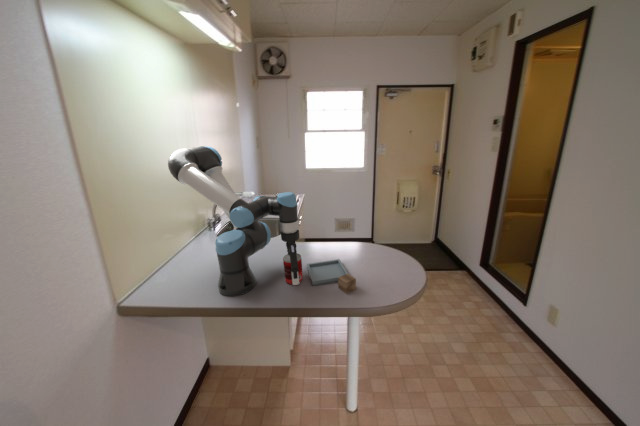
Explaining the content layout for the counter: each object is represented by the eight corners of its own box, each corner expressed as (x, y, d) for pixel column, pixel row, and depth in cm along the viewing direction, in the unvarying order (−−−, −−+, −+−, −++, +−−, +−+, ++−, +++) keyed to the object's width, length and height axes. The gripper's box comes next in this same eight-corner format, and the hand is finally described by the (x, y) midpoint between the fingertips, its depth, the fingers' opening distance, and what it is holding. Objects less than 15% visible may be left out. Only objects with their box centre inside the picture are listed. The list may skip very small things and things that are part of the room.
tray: (312, 285, 114) (312, 281, 114) (306, 267, 129) (306, 263, 129) (349, 279, 117) (349, 275, 117) (339, 262, 132) (339, 259, 132)
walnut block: (346, 294, 108) (345, 282, 106) (338, 288, 112) (338, 277, 111) (355, 289, 110) (355, 278, 109) (348, 284, 114) (348, 273, 113)
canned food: (304, 275, 123) (302, 252, 120) (301, 285, 116) (299, 261, 112) (287, 275, 124) (285, 252, 121) (283, 284, 116) (281, 261, 113)
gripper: (303, 240, 102) (307, 290, 108) (295, 219, 125) (298, 261, 131) (283, 243, 100) (288, 293, 107) (278, 221, 124) (282, 264, 130)
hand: (293, 276), depth 119 cm, fingers open, 13 cm apart
